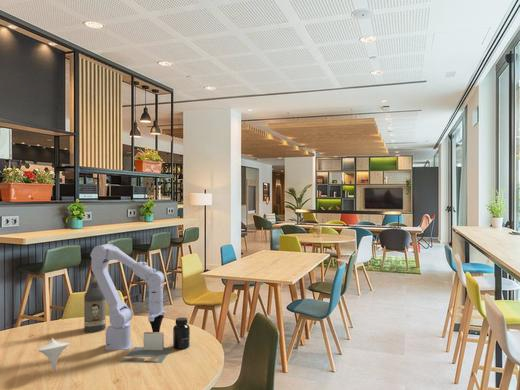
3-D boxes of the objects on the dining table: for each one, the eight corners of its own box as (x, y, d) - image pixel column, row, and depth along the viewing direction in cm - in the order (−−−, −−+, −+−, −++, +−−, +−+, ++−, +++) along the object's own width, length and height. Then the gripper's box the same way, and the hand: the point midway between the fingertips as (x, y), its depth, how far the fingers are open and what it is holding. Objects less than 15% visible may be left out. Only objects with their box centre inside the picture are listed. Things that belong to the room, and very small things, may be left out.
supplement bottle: (186, 351, 166) (185, 321, 166) (170, 350, 168) (170, 320, 168) (192, 345, 173) (192, 316, 173) (177, 344, 174) (176, 316, 174)
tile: (143, 350, 166) (143, 333, 166) (144, 349, 168) (144, 332, 168) (162, 350, 166) (162, 333, 166) (163, 349, 167) (163, 332, 167)
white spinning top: (33, 372, 147) (33, 338, 147) (64, 363, 155) (64, 331, 155) (42, 381, 140) (42, 346, 140) (74, 371, 147) (74, 338, 147)
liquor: (84, 327, 198) (84, 266, 198) (104, 325, 201) (104, 264, 202) (84, 333, 189) (84, 268, 190) (105, 330, 193) (105, 267, 193)
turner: (120, 361, 155) (120, 359, 155) (124, 358, 158) (124, 355, 158) (156, 362, 154) (156, 359, 154) (159, 358, 158) (159, 355, 158)
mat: (119, 363, 154) (119, 362, 154) (134, 348, 170) (134, 347, 170) (161, 363, 153) (161, 362, 153) (172, 348, 169) (172, 347, 169)
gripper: (160, 305, 163) (160, 339, 163) (170, 296, 177) (170, 328, 177) (143, 305, 163) (143, 339, 163) (154, 296, 178) (154, 328, 178)
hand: (156, 333), depth 170 cm, fingers closed
